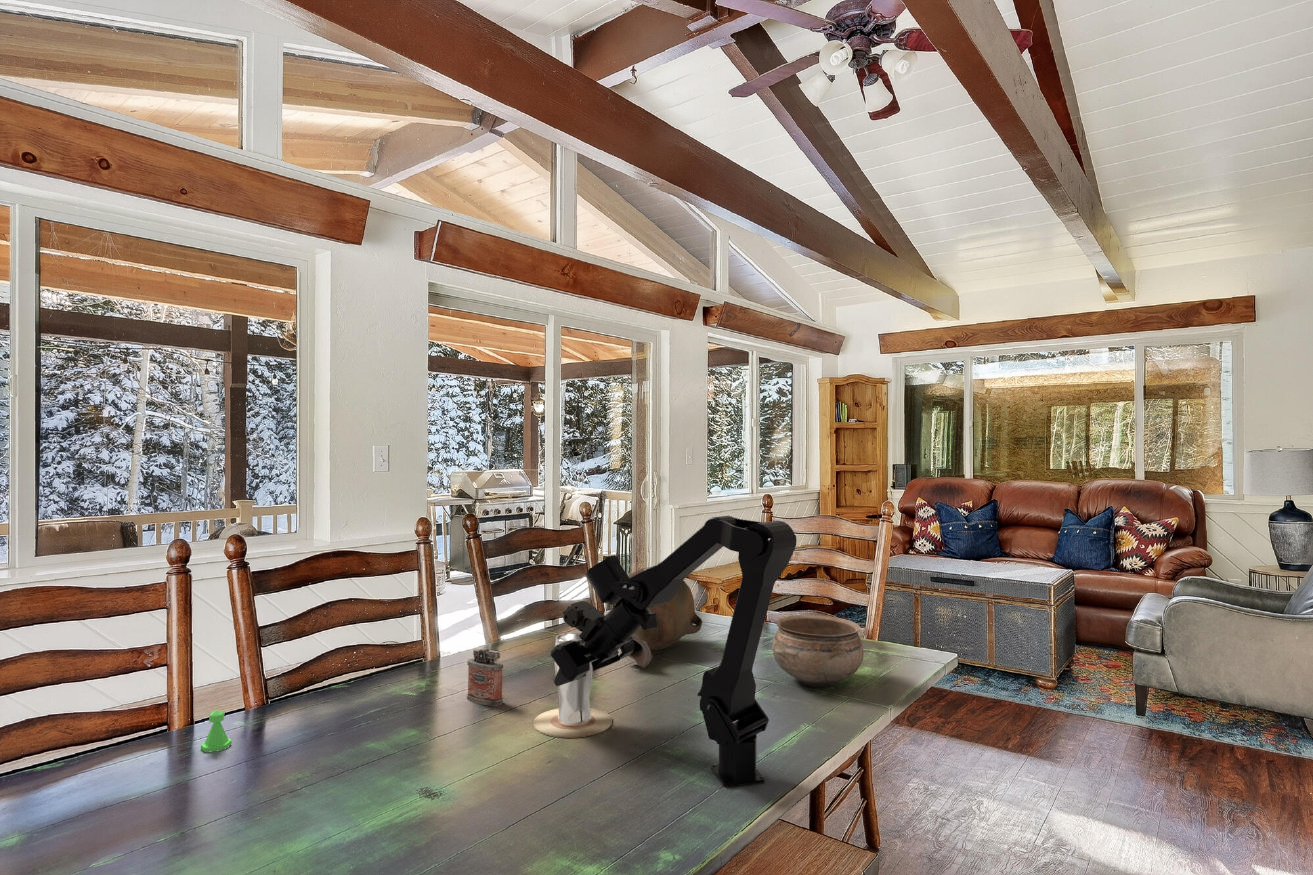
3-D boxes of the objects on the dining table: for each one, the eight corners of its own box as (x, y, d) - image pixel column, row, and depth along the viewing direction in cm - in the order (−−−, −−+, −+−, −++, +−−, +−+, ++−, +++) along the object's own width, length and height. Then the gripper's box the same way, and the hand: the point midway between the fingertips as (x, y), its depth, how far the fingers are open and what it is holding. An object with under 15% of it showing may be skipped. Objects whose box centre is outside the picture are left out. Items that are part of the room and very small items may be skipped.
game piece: (198, 754, 116) (199, 716, 116) (202, 744, 120) (203, 707, 120) (230, 749, 118) (230, 712, 118) (232, 740, 122) (233, 704, 122)
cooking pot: (820, 661, 170) (820, 608, 170) (890, 682, 155) (890, 624, 155) (743, 681, 154) (744, 624, 155) (813, 707, 140) (814, 643, 140)
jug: (641, 632, 194) (598, 686, 166) (623, 562, 193) (576, 604, 165) (713, 624, 187) (680, 678, 159) (695, 551, 186) (659, 593, 158)
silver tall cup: (587, 728, 126) (586, 641, 127) (549, 726, 128) (548, 640, 128) (598, 714, 133) (598, 632, 134) (562, 712, 135) (561, 630, 135)
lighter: (462, 699, 142) (463, 648, 142) (474, 694, 145) (475, 644, 145) (495, 707, 138) (495, 654, 138) (506, 701, 141) (507, 649, 141)
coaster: (619, 733, 126) (619, 731, 126) (537, 741, 122) (537, 739, 122) (603, 705, 139) (603, 703, 139) (530, 711, 136) (530, 709, 136)
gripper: (621, 580, 137) (573, 631, 142) (560, 597, 121) (509, 654, 126) (657, 627, 133) (606, 678, 138) (598, 651, 117) (544, 708, 122)
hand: (567, 678), depth 131 cm, fingers closed on silver tall cup, 7 cm apart
